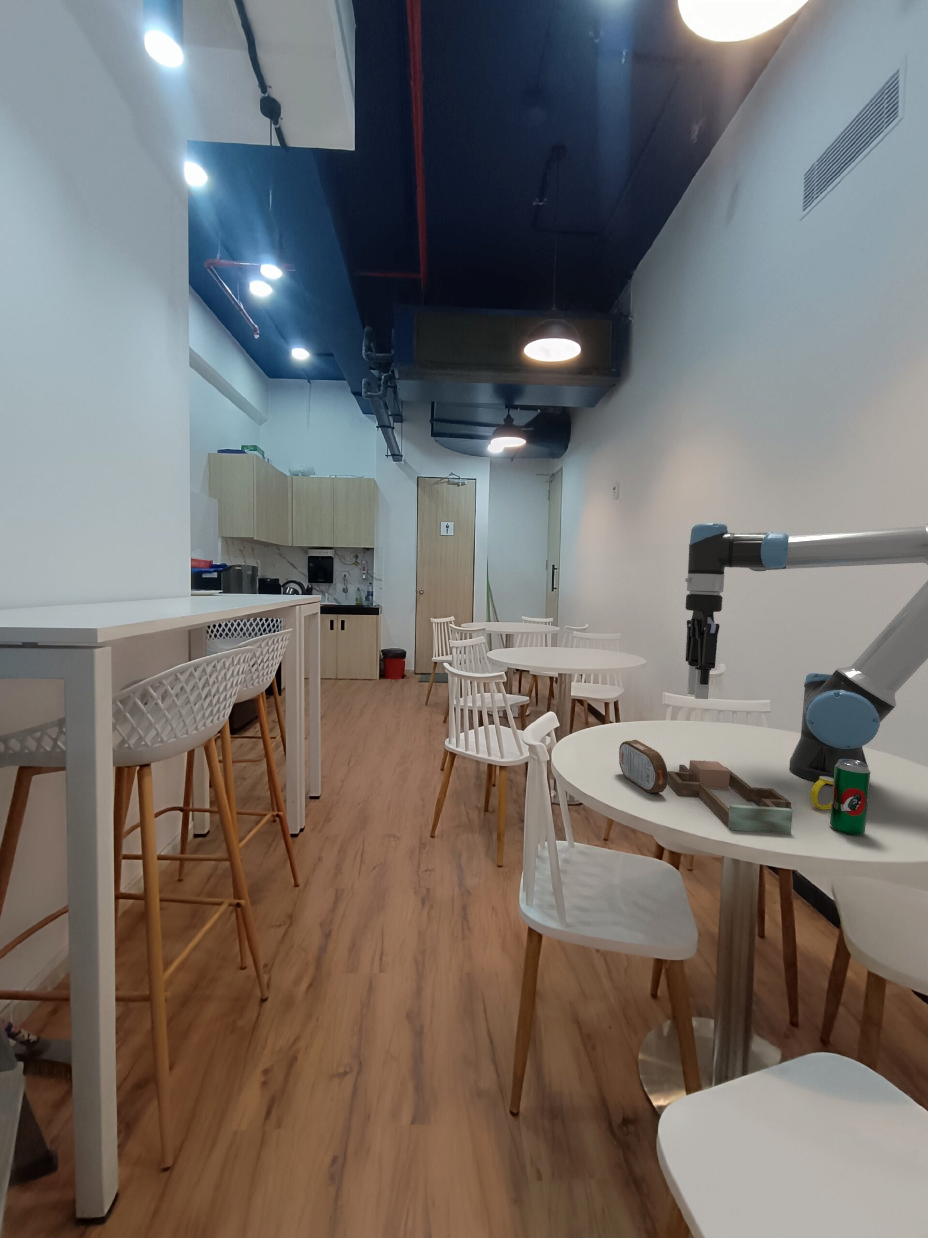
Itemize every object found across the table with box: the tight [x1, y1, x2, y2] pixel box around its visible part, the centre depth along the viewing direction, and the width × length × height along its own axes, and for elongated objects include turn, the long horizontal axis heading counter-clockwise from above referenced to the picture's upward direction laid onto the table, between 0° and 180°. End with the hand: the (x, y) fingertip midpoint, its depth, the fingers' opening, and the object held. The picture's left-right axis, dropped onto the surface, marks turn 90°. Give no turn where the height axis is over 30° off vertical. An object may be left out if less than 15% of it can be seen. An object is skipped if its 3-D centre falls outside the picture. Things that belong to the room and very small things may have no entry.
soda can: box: [829, 759, 871, 837], centre depth 96 cm, size 5×5×12 cm
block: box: [688, 759, 730, 790], centre depth 118 cm, size 6×6×4 cm
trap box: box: [667, 764, 794, 835], centre depth 108 cm, size 18×27×4 cm, turn 177°
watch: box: [809, 776, 834, 811], centre depth 106 cm, size 6×3×6 cm, turn 104°
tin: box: [618, 739, 668, 794], centre depth 115 cm, size 15×3×8 cm, turn 13°
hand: (697, 696), depth 126 cm, fingers open, 4 cm apart
